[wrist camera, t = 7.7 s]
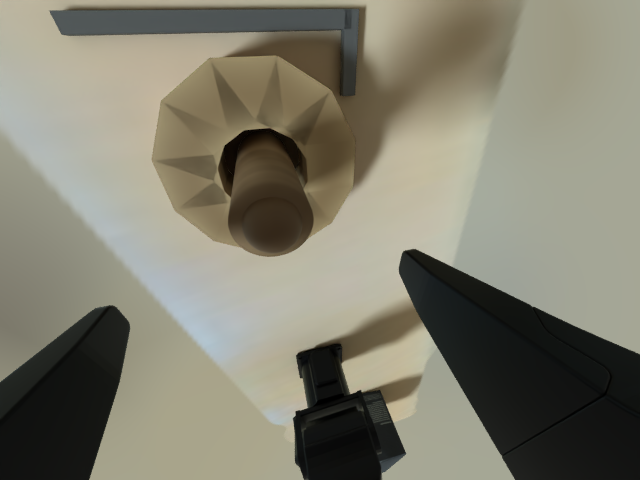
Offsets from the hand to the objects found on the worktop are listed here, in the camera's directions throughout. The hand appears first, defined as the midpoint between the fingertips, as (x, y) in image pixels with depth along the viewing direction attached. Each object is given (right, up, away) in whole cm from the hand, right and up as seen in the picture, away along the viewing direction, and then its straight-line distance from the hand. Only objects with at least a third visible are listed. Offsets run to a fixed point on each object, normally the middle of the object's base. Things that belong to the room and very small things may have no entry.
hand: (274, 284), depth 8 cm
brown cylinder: (-3, +7, +9) cm, 12 cm away
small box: (+10, -33, +43) cm, 55 cm away
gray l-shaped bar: (-3, +11, +6) cm, 13 cm away
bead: (-3, +7, +9) cm, 12 cm away
